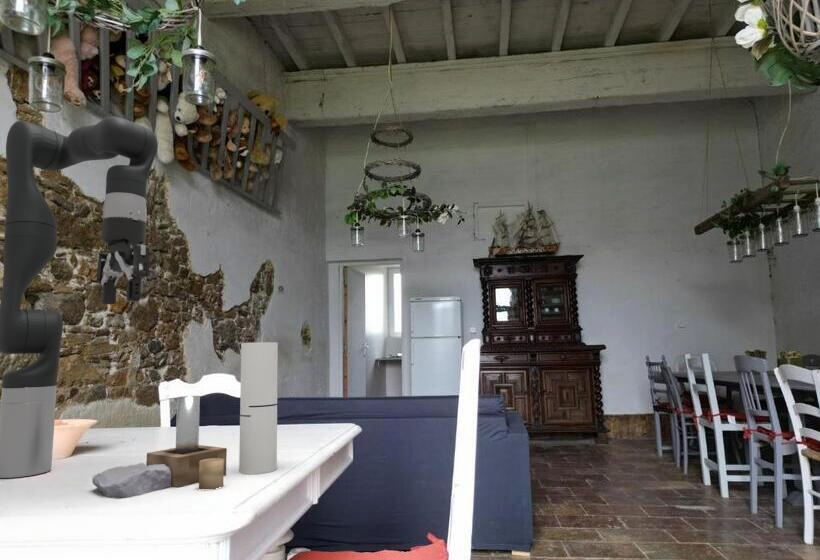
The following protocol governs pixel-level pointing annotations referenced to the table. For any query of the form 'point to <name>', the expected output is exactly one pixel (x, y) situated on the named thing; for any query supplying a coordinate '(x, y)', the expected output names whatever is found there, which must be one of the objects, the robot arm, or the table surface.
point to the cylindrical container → (258, 408)
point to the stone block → (133, 480)
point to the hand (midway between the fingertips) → (120, 302)
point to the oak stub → (211, 473)
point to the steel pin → (187, 424)
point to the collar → (185, 463)
